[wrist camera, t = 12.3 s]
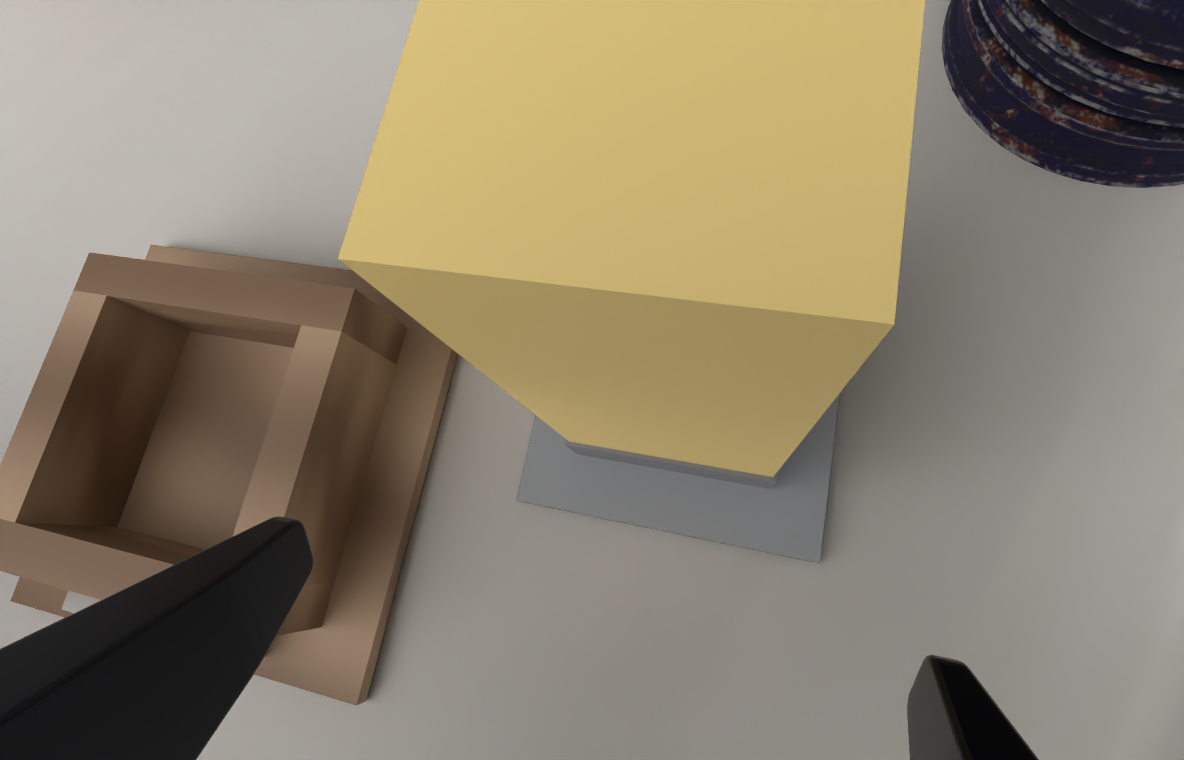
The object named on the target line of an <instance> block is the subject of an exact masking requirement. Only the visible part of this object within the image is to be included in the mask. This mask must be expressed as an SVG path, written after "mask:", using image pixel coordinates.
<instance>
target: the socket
mask: <svg viewBox="0 0 1184 760" xmlns="http://www.w3.org/2000/svg"><path fill="white" fill-rule="evenodd" d="M457 355H458V353H457V352H455V351H454V350H453V349H451V348H450V347H449V346H448V345H446V344H445V343H444V342H443V341H441V340H440V339H439V338H438V337H436V336H435V335H434V334H432V333H431V332H430V331H429V330H427V329H426V328H425V327H424V326H422V325H421V324H420V323H419V322H417V321H416V320H415V319H413V318H412V317H411V316H410V315H408V314H407V313H406V312H405V311H403V310H402V309H401V308H400V307H398V306H397V305H396V304H395V303H393V302H392V301H391V300H389V299H388V298H387V297H386V296H384V295H383V294H382V293H381V292H379V291H378V290H377V289H376V288H374V287H373V286H372V285H370V284H369V283H368V282H367V281H365V280H364V279H363V278H362V277H360V276H359V275H358V274H357V273H355V272H354V271H352V270H344V269H336V268H328V267H320V266H312V265H305V264H297V263H289V262H281V261H273V260H266V259H258V258H250V257H242V256H234V255H226V254H219V253H211V252H203V251H195V250H187V249H179V248H172V247H164V246H156V245H151V246H150V249H149V251H148V254H147V256H146V259H145V260H141V259H133V258H126V257H118V256H111V255H104V254H96V253H89V255H88V257H87V259H86V262H85V264H84V267H83V269H82V271H81V274H80V276H79V279H78V281H77V283H76V286H75V288H74V291H73V293H72V295H71V298H70V300H69V303H68V305H67V307H66V310H65V312H64V315H63V317H62V319H61V322H60V324H59V327H58V329H57V331H56V334H55V336H54V339H53V341H52V343H51V346H50V348H49V351H48V353H47V355H46V358H45V360H44V362H43V365H42V367H41V370H40V372H39V374H38V377H37V379H36V382H35V384H34V386H33V389H32V391H31V394H30V396H29V398H28V401H27V403H26V406H25V408H24V410H23V413H22V415H21V418H20V420H19V422H18V425H17V427H16V430H15V432H14V434H13V437H12V439H11V442H10V444H9V446H8V449H7V451H6V454H5V456H4V458H3V461H2V463H1V466H0V571H3V572H6V573H9V574H13V575H16V576H20V578H19V581H18V583H17V586H16V588H15V591H14V593H13V596H12V598H11V601H13V602H16V603H19V604H23V605H26V606H29V607H33V608H36V609H39V610H43V611H46V612H49V613H52V614H56V615H59V616H62V617H67V616H70V615H72V614H74V613H76V612H78V611H80V610H82V609H84V608H86V607H88V606H90V605H92V604H94V603H96V602H98V601H101V600H103V599H105V598H107V597H109V596H111V595H113V594H115V593H117V592H119V591H121V590H123V589H125V588H127V587H129V586H132V585H134V584H136V583H138V582H140V581H142V580H144V579H146V578H148V577H150V576H152V575H154V574H156V573H158V572H160V571H163V570H165V569H167V568H169V567H171V566H173V565H175V564H177V563H179V562H181V561H183V560H185V559H187V558H189V557H191V556H194V555H196V554H198V553H200V552H202V551H204V550H206V549H208V548H210V547H212V546H214V545H216V544H218V543H220V542H222V541H224V540H227V539H229V538H231V537H233V536H235V535H237V534H239V533H241V532H243V531H245V530H247V529H249V528H251V527H253V526H255V525H258V524H260V523H262V522H264V521H266V520H268V519H270V518H273V517H277V516H280V517H286V518H291V519H295V520H299V521H301V522H302V523H303V525H304V527H305V530H306V533H307V537H308V540H309V543H310V547H311V550H312V554H313V558H314V563H313V568H312V571H311V573H310V576H309V577H308V579H307V581H306V583H305V585H304V587H303V588H302V590H301V592H300V594H299V596H298V597H297V599H296V601H295V603H294V605H293V607H292V608H291V610H290V612H289V614H288V616H287V617H286V619H285V621H284V623H283V625H282V627H281V628H280V630H279V632H278V634H277V636H276V637H275V639H274V641H273V643H272V645H271V647H270V648H269V650H268V652H267V653H266V655H265V657H264V659H263V660H262V662H261V664H260V665H259V667H258V668H257V670H256V671H255V673H254V674H255V675H258V676H261V677H265V678H268V679H271V680H275V681H278V682H281V683H285V684H288V685H291V686H294V687H298V688H301V689H304V690H308V691H311V692H314V693H318V694H321V695H324V696H328V697H331V698H334V699H338V700H341V701H344V702H348V703H351V704H354V705H358V704H360V703H363V702H365V701H366V700H367V696H368V693H369V689H370V685H371V681H372V677H373V674H374V670H375V666H376V662H377V658H378V655H379V651H380V647H381V643H382V639H383V636H384V632H385V628H386V624H387V620H388V617H389V613H390V609H391V605H392V601H393V598H394V594H395V590H396V586H397V582H398V579H399V575H400V571H401V567H402V564H403V560H404V556H405V552H406V548H407V545H408V541H409V537H410V533H411V529H412V526H413V522H414V518H415V514H416V510H417V507H418V503H419V499H420V495H421V491H422V488H423V484H424V480H425V476H426V472H427V469H428V465H429V461H430V457H431V453H432V450H433V446H434V442H435V438H436V434H437V431H438V427H439V423H440V419H441V415H442V412H443V408H444V404H445V400H446V397H447V393H448V389H449V385H450V381H451V378H452V374H453V370H454V366H455V362H456V359H457Z"/></svg>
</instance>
